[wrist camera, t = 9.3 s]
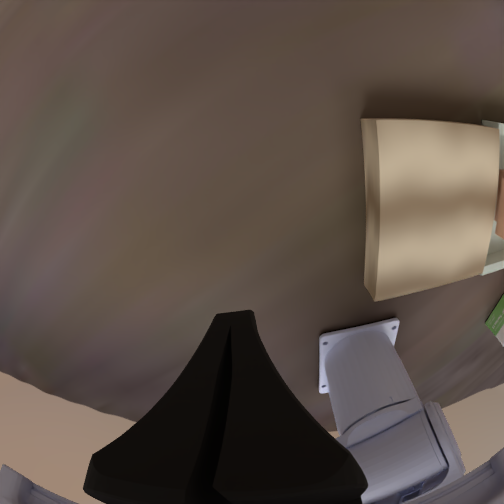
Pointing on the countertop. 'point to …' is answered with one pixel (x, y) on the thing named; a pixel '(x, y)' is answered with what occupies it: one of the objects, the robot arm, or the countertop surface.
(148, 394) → the countertop surface
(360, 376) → the robot arm
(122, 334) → the countertop surface
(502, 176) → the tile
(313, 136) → the countertop surface
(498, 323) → the ink box
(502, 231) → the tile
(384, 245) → the beige square slab
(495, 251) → the tray
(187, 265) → the countertop surface
